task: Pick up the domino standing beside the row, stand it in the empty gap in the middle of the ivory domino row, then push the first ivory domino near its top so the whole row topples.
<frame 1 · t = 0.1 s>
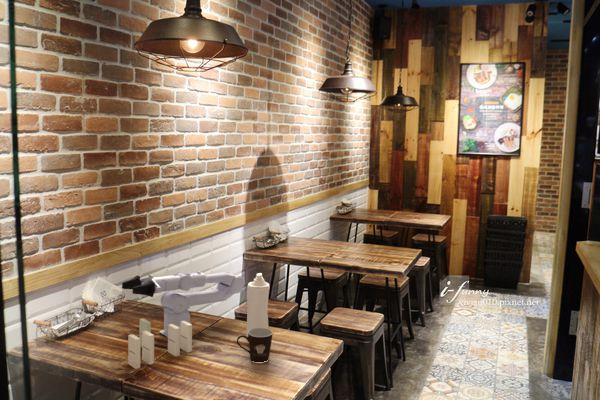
hand: (127, 288, 183), 22 cm above the table, tool horizontal, fingers open, 7 cm apart
spray can: (257, 338, 199), on the table
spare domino: (144, 347, 185), on the table
domino 5: (134, 365, 171), on the table
domino 2: (173, 353, 181), on the table
coffee mug: (255, 359, 180), on the table
domino 4: (147, 361, 174), on the table
domino 1: (185, 349, 185), on the table
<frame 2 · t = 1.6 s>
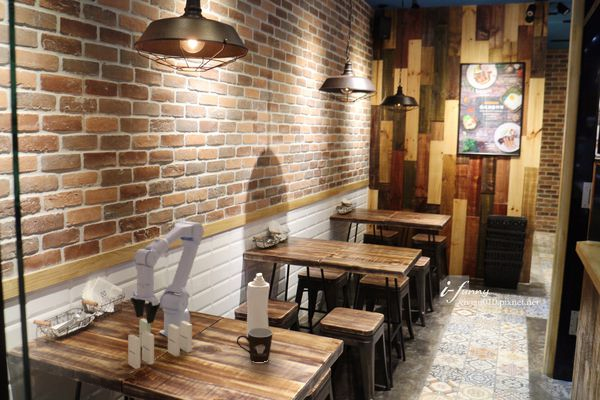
hand: (145, 319, 184), 10 cm above the table, tool pointing down, fingers open, 7 cm apart
nothing on the table moved.
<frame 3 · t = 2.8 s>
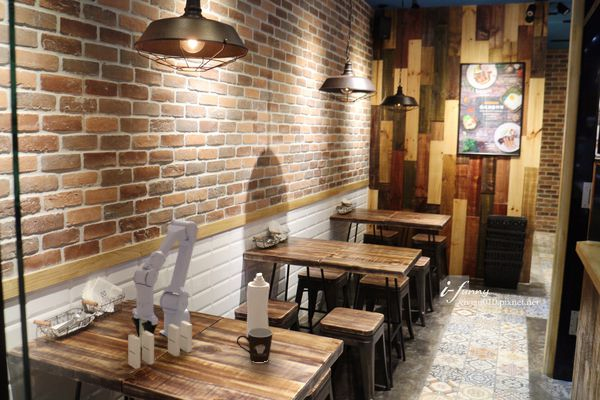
hand: (144, 338, 185), 3 cm above the table, tool pointing down, fingers closed on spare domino, 5 cm apart
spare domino: (144, 347, 185), on the table, touching gripper
everything else where it was.
when the fingers open (4 cm above the table, at t = 7.3 s): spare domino stays where it is, on the table.
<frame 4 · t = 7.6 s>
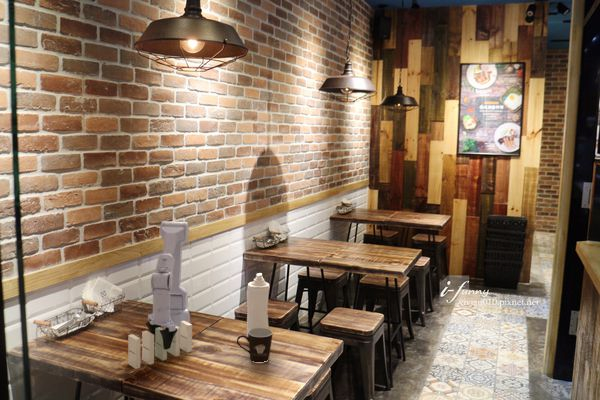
hand: (161, 345, 177), 4 cm above the table, tool pointing down, fingers open, 7 cm apart
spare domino: (160, 357, 178), on the table
everything else where it was.
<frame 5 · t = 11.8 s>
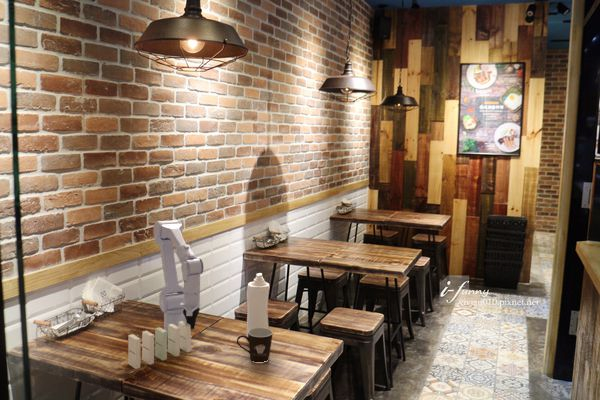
hand: (191, 328, 186), 7 cm above the table, tool pointing down, fingers closed
nothing on the table moved.
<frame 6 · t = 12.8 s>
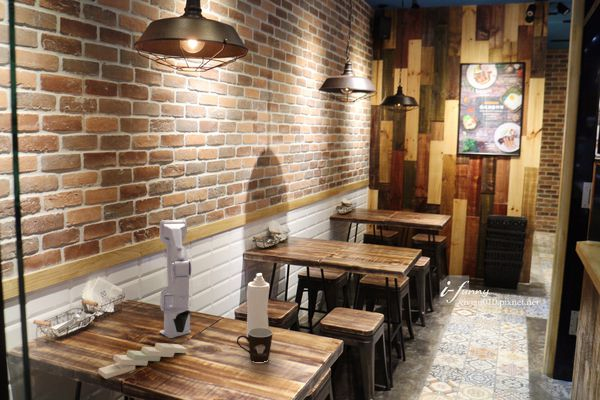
hand: (180, 331, 182), 7 cm above the table, tool pointing down, fingers closed
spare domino: (156, 356, 177), point 1 cm above the table, tilted 70°, touching domino 2, domino 4
domino 5: (131, 364, 170), point 1 cm above the table, tilted 89°
domino 2: (169, 352, 180), point 1 cm above the table, tilted 71°, touching domino 1, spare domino
domino 4: (143, 360, 173), point 1 cm above the table, tilted 70°, touching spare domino
domino 1: (182, 348, 184), point 1 cm above the table, tilted 71°, touching domino 2
everything else where it was.
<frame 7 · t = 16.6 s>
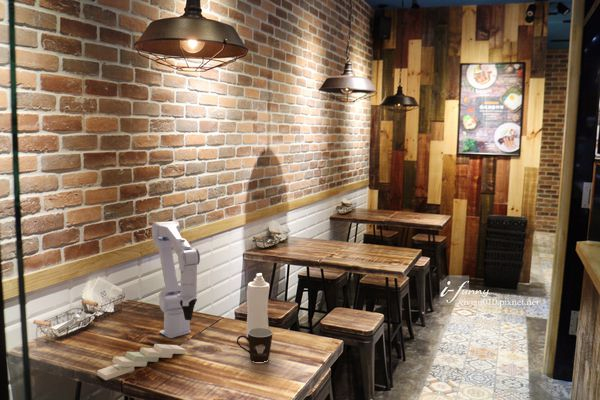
hand: (188, 319, 186), 10 cm above the table, tool pointing down, fingers closed
domino 5: (130, 365, 169), point 1 cm above the table, tilted 89°, touching domino 4
domino 4: (141, 361, 172), point 1 cm above the table, tilted 71°, touching domino 5, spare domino
at the end: domino 5 tilted 89°; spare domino 2.1 cm from the target spot, point 0.8 cm above the table; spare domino tilted 70° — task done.
